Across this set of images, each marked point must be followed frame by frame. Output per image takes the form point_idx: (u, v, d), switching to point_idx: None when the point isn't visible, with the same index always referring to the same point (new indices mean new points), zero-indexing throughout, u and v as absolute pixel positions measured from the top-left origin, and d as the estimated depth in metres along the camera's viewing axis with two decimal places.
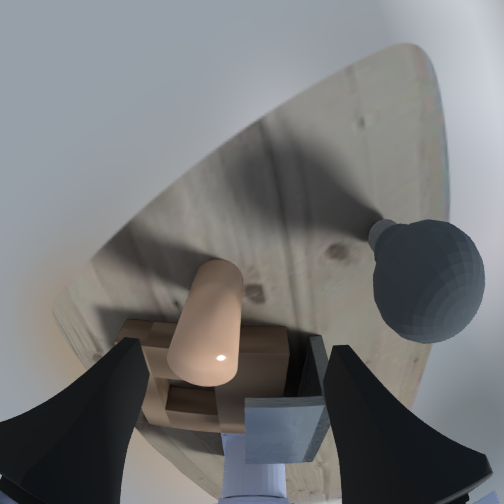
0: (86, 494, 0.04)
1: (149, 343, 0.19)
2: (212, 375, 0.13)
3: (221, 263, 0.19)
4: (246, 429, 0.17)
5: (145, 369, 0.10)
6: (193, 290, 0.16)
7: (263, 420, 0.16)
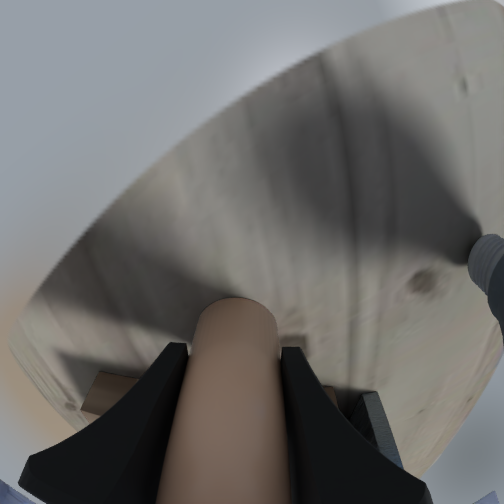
0: None
1: None
2: None
3: (244, 306, 0.10)
4: None
5: None
6: (196, 367, 0.08)
7: None
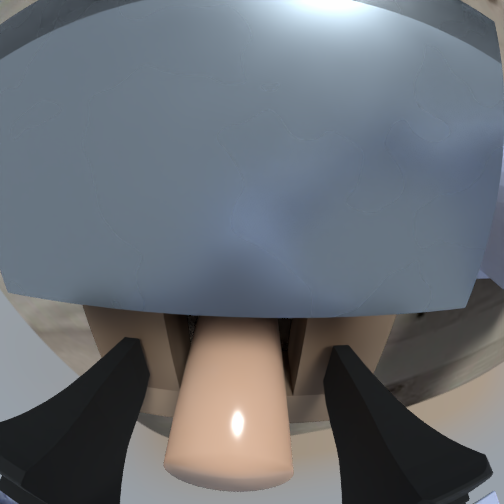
0: (86, 494, 0.04)
1: None
2: (248, 483, 0.06)
3: None
4: (102, 302, 0.04)
5: (145, 369, 0.10)
6: (199, 335, 0.09)
7: (37, 244, 0.04)
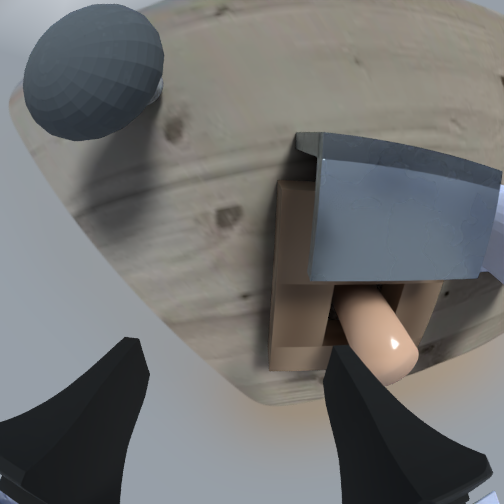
0: (86, 494, 0.04)
1: (271, 339, 0.18)
2: (395, 374, 0.13)
3: None
4: (374, 278, 0.12)
5: (146, 369, 0.10)
6: (353, 302, 0.16)
7: (351, 255, 0.11)
